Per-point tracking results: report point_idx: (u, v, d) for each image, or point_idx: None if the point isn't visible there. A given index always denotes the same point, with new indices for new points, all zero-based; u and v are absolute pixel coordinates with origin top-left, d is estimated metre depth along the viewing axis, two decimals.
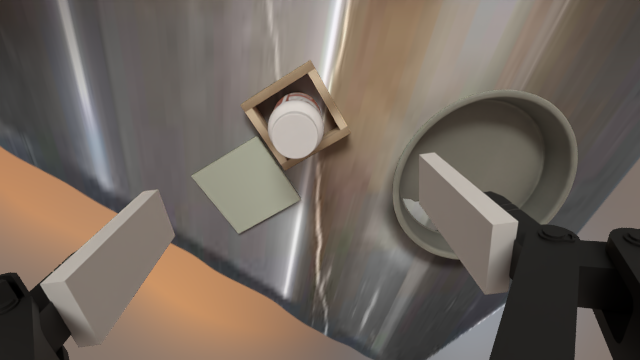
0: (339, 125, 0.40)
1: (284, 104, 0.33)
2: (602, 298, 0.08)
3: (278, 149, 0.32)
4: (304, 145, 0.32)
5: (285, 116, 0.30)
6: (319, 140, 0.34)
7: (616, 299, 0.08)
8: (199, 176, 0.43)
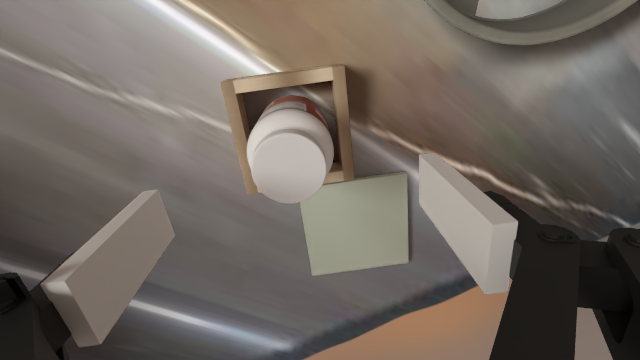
0: (325, 78, 0.25)
1: (247, 155, 0.22)
2: (601, 298, 0.08)
3: (298, 200, 0.20)
4: (309, 162, 0.19)
5: (252, 170, 0.19)
6: (319, 129, 0.21)
7: (616, 299, 0.08)
8: (316, 268, 0.35)
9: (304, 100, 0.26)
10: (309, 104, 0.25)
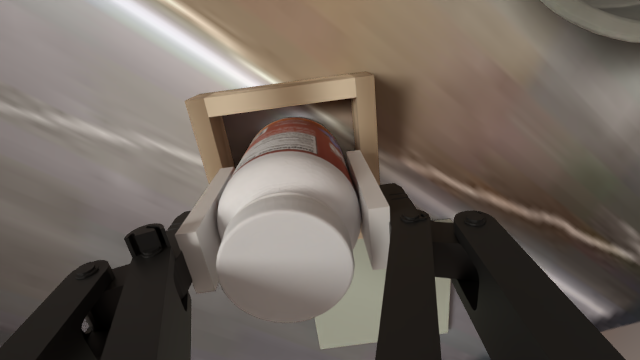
0: (345, 95, 0.17)
1: (218, 227, 0.13)
2: (447, 268, 0.10)
3: (302, 317, 0.11)
4: (322, 258, 0.10)
5: (219, 273, 0.10)
6: (339, 187, 0.12)
7: (457, 269, 0.10)
8: (326, 340, 0.26)
9: (312, 127, 0.17)
10: (320, 134, 0.17)
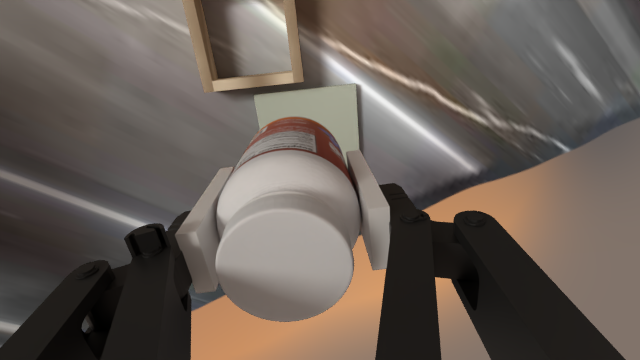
0: None
1: (217, 226, 0.13)
2: (447, 268, 0.10)
3: (301, 316, 0.11)
4: (322, 257, 0.10)
5: (218, 271, 0.10)
6: (339, 186, 0.12)
7: (457, 269, 0.10)
8: None
9: (311, 126, 0.17)
10: (319, 133, 0.17)
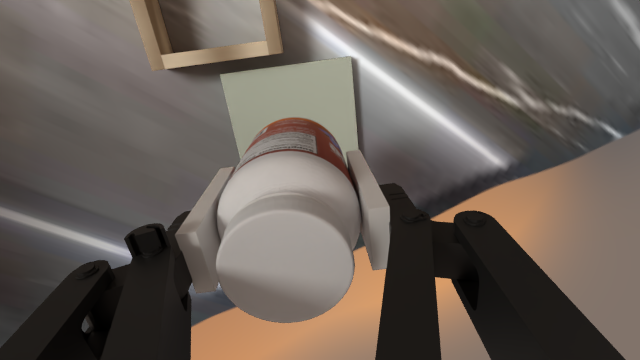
0: None
1: (218, 227, 0.13)
2: (447, 268, 0.10)
3: (302, 317, 0.11)
4: (322, 258, 0.10)
5: (218, 273, 0.10)
6: (339, 187, 0.12)
7: (457, 269, 0.10)
8: None
9: (312, 126, 0.17)
10: (320, 134, 0.17)
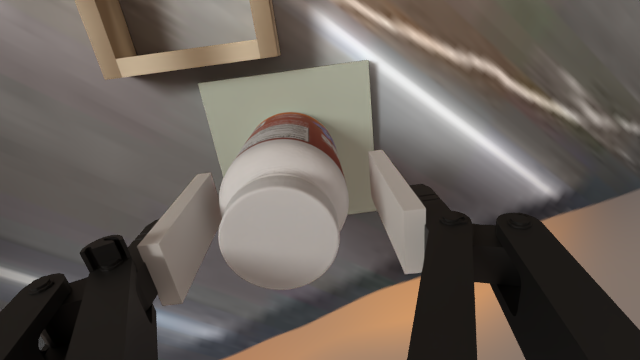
0: None
1: (220, 207, 0.14)
2: (490, 273, 0.10)
3: (294, 285, 0.13)
4: (311, 230, 0.12)
5: (220, 243, 0.12)
6: (328, 170, 0.14)
7: (500, 274, 0.10)
8: None
9: (306, 120, 0.19)
10: (313, 126, 0.18)
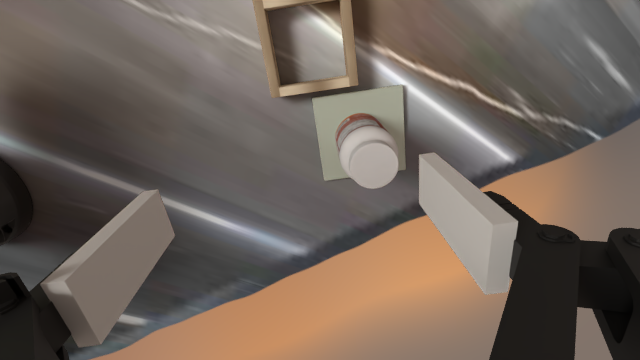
0: None
1: (341, 157, 0.32)
2: (601, 298, 0.08)
3: (378, 186, 0.31)
4: (387, 161, 0.30)
5: (351, 167, 0.30)
6: (390, 139, 0.31)
7: (615, 299, 0.08)
8: (327, 173, 0.42)
9: (371, 117, 0.37)
10: (376, 120, 0.36)
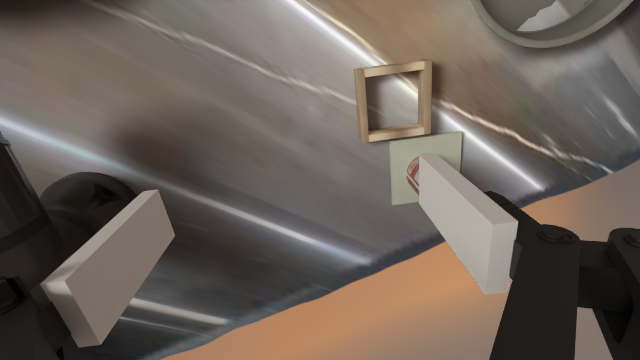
0: (420, 68, 0.42)
1: None
2: (601, 298, 0.08)
3: None
4: None
5: None
6: None
7: (615, 299, 0.08)
8: (396, 199, 0.51)
9: None
10: None
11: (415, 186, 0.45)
